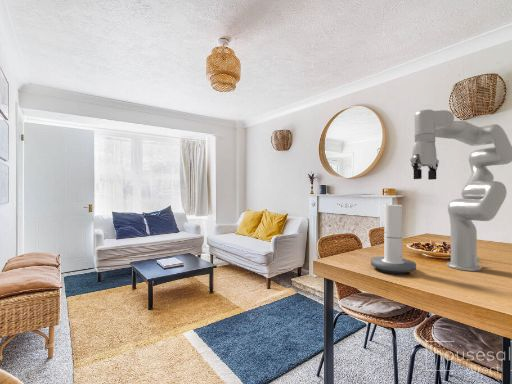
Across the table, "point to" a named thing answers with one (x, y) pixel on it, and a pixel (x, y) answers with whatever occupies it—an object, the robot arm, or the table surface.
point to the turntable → (393, 265)
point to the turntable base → (392, 271)
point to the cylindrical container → (393, 233)
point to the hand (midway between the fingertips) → (425, 179)
